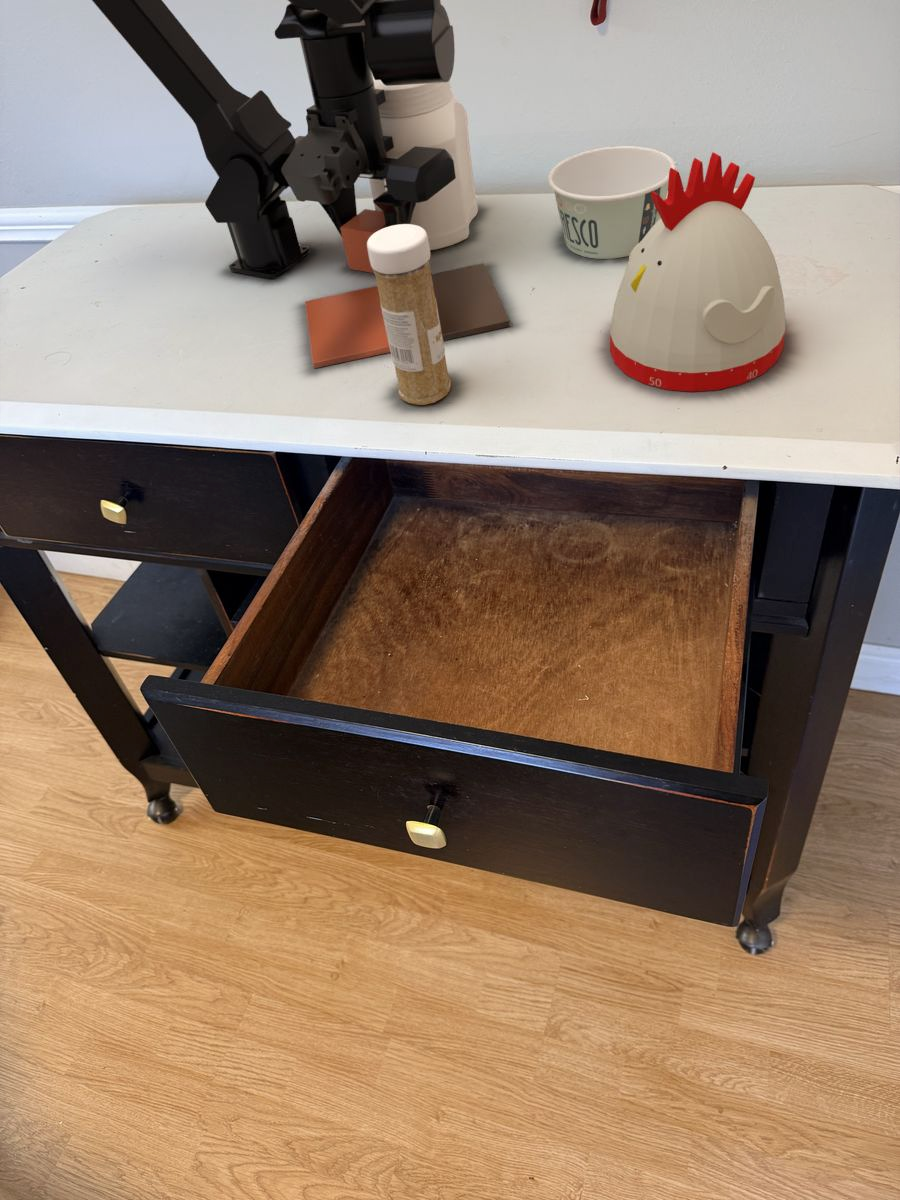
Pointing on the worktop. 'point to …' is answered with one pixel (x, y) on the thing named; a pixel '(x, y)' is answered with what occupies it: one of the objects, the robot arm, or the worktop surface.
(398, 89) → the jar
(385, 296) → the sprinkles bottle
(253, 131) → the robot arm
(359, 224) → the terracotta block
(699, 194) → the kitchen timer
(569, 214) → the food container
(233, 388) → the worktop surface
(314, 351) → the board
